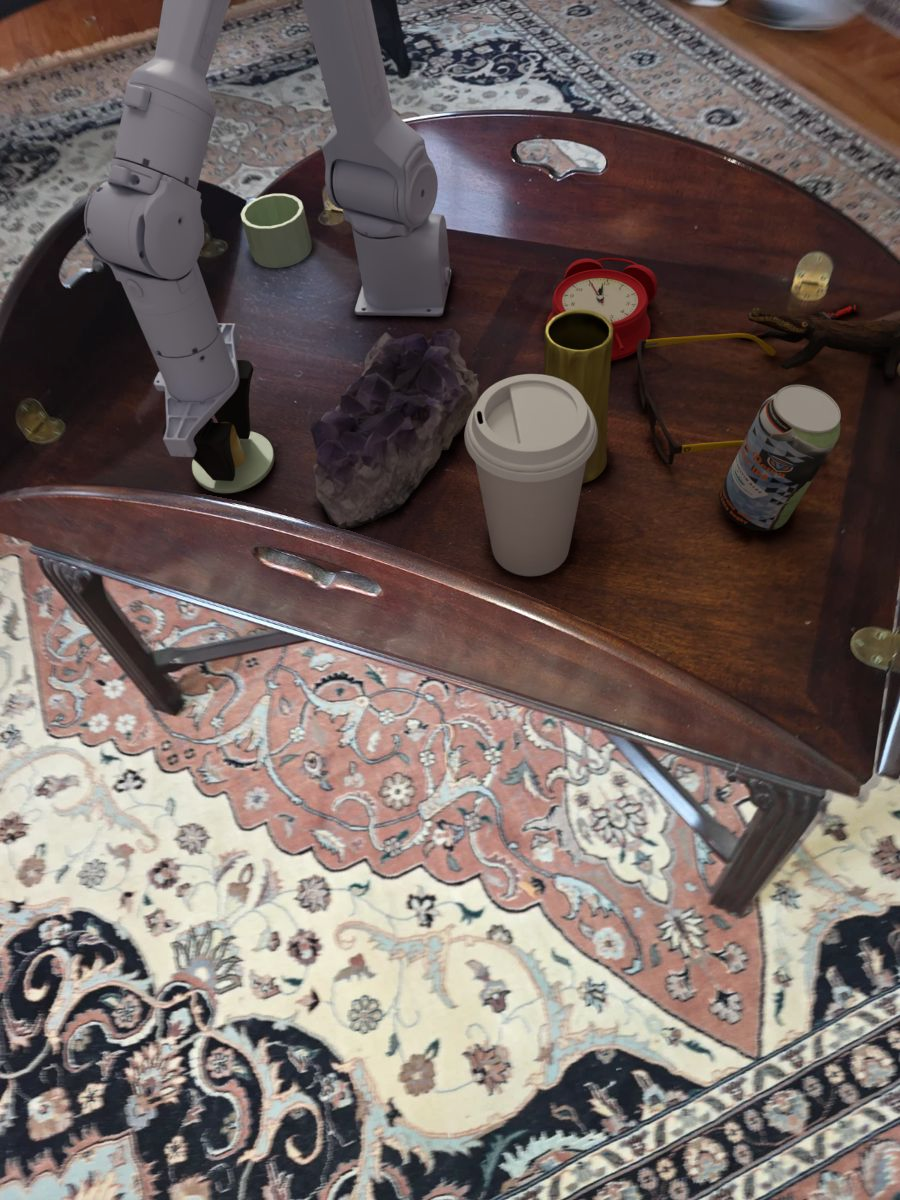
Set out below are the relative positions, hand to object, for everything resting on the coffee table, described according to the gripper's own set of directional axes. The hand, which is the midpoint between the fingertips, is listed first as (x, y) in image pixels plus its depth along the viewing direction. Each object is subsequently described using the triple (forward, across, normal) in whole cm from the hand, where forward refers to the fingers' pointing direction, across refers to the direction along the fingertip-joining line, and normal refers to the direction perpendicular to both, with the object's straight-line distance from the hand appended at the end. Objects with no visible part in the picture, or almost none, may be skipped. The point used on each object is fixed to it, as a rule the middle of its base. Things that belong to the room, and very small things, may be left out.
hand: (231, 456), depth 80 cm
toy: (+2, -17, +56) cm, 59 cm away
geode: (+2, -2, +15) cm, 15 cm away
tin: (+1, -34, -4) cm, 35 cm away
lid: (+1, 0, 0) cm, 1 cm away
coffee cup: (+2, +8, +28) cm, 29 cm away
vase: (+2, -2, +31) cm, 31 cm away
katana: (+1, -20, +52) cm, 56 cm away
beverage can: (+2, +2, +47) cm, 47 cm away
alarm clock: (+2, -22, +33) cm, 40 cm away
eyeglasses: (+1, -9, +44) cm, 45 cm away
